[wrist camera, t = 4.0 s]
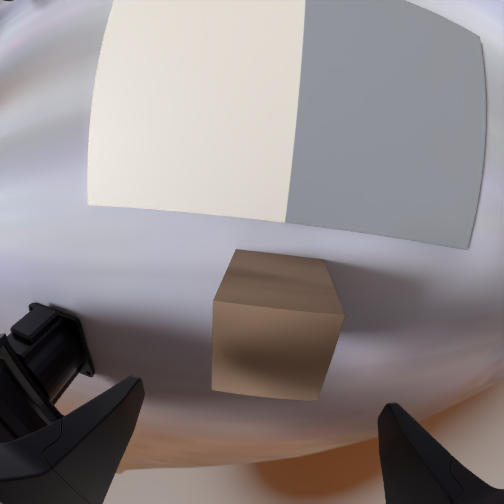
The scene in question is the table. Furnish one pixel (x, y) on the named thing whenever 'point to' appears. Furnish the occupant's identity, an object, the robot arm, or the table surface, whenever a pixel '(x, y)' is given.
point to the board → (292, 114)
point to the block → (274, 326)
